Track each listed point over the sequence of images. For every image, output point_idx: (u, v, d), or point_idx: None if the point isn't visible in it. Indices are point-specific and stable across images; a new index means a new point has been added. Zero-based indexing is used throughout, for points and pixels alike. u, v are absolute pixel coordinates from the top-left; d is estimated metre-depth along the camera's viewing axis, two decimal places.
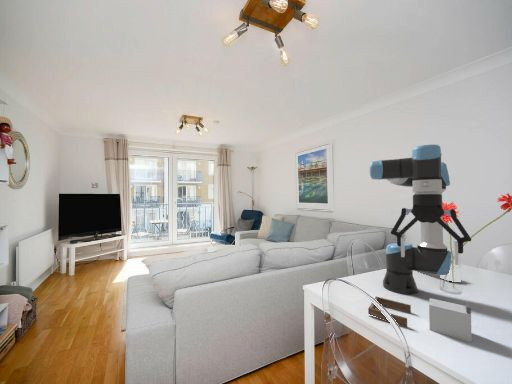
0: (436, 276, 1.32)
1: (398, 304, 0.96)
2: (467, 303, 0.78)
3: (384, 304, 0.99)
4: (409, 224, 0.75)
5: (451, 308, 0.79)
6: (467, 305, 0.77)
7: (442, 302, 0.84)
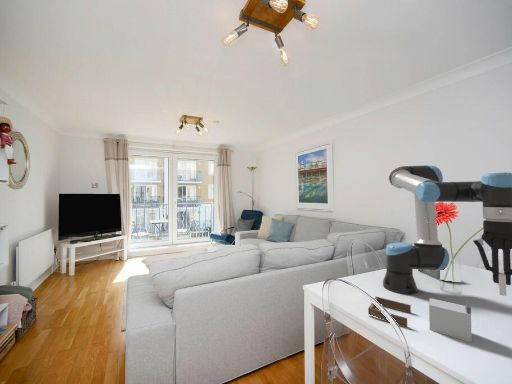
0: (434, 275, 1.33)
1: (398, 304, 0.96)
2: (467, 303, 0.78)
3: (384, 304, 0.99)
4: (494, 256, 0.73)
5: (451, 308, 0.79)
6: (467, 305, 0.77)
7: (442, 302, 0.84)
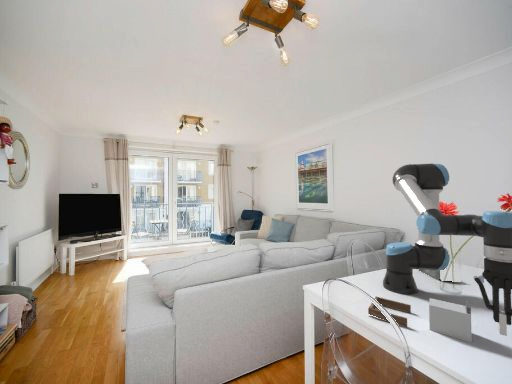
0: (432, 275, 1.33)
1: (398, 304, 0.96)
2: (467, 303, 0.78)
3: (384, 304, 0.99)
4: (495, 295, 0.73)
5: (451, 308, 0.79)
6: (467, 305, 0.77)
7: (442, 302, 0.84)
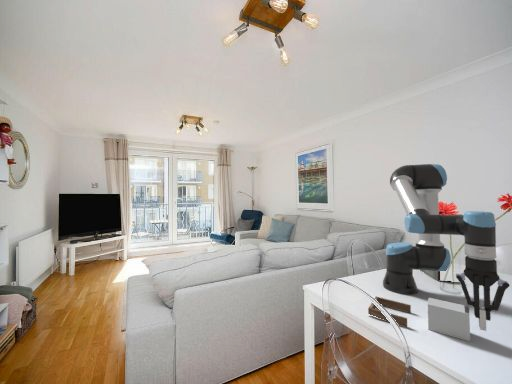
0: (431, 275, 1.34)
1: (398, 304, 0.96)
2: (466, 302, 0.78)
3: (384, 304, 0.99)
4: (475, 291, 0.76)
5: (449, 308, 0.79)
6: (465, 304, 0.77)
7: (441, 301, 0.84)
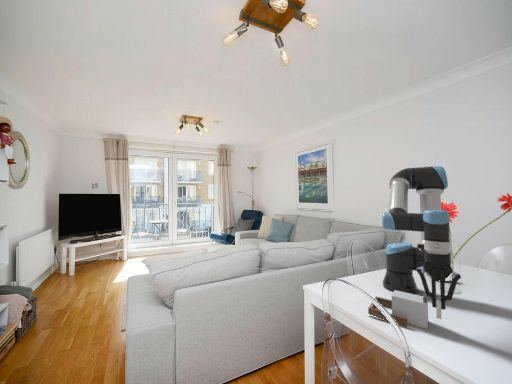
0: None
1: None
2: (425, 294, 0.85)
3: (384, 304, 0.99)
4: (432, 283, 0.83)
5: (410, 299, 0.86)
6: (424, 295, 0.84)
7: (404, 293, 0.91)
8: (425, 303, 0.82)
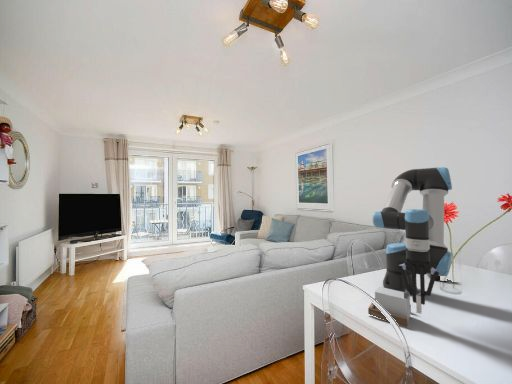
0: (427, 274, 1.35)
1: None
2: (406, 290, 0.89)
3: None
4: (413, 279, 0.86)
5: (392, 294, 0.90)
6: (405, 291, 0.88)
7: (388, 289, 0.95)
8: (405, 299, 0.86)
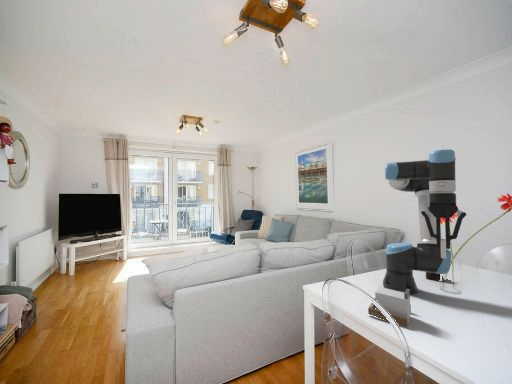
0: None
1: None
2: (407, 290, 0.89)
3: None
4: (437, 224, 0.82)
5: (393, 295, 0.90)
6: (406, 292, 0.88)
7: (388, 290, 0.95)
8: (406, 299, 0.86)
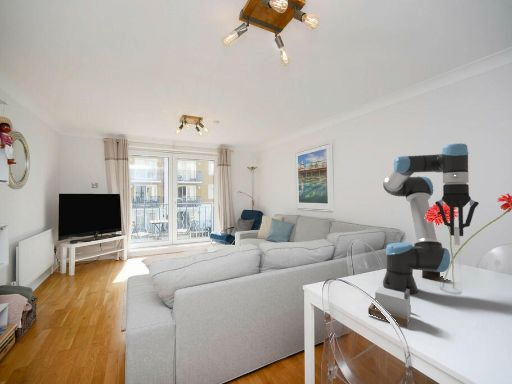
0: None
1: None
2: (407, 290, 0.89)
3: None
4: (451, 213, 0.88)
5: (393, 295, 0.90)
6: (406, 292, 0.88)
7: (388, 290, 0.95)
8: (406, 299, 0.86)
